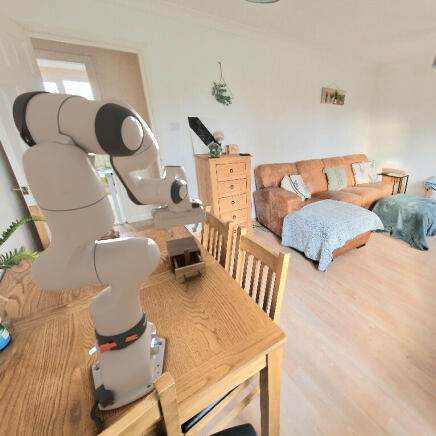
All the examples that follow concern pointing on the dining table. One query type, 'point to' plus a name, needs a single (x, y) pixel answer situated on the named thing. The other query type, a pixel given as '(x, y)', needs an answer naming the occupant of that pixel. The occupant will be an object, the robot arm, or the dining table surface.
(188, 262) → the brown post red base
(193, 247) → the cabinet
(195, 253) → the drawer
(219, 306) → the dining table surface
